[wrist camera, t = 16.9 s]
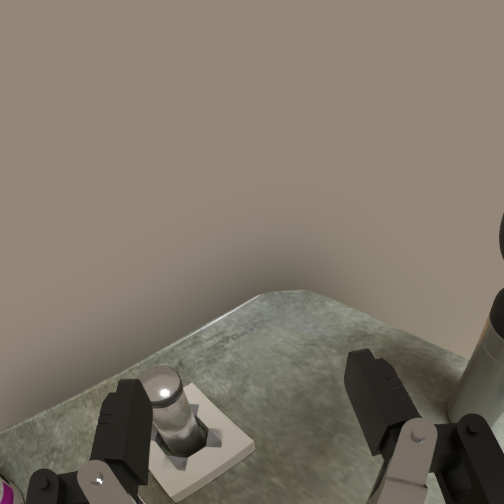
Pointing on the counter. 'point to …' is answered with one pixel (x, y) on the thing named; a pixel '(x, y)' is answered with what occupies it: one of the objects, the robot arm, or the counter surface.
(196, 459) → the mount plate
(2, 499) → the supplement can
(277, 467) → the counter surface
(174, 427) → the grey cylindrical piece
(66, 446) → the counter surface
